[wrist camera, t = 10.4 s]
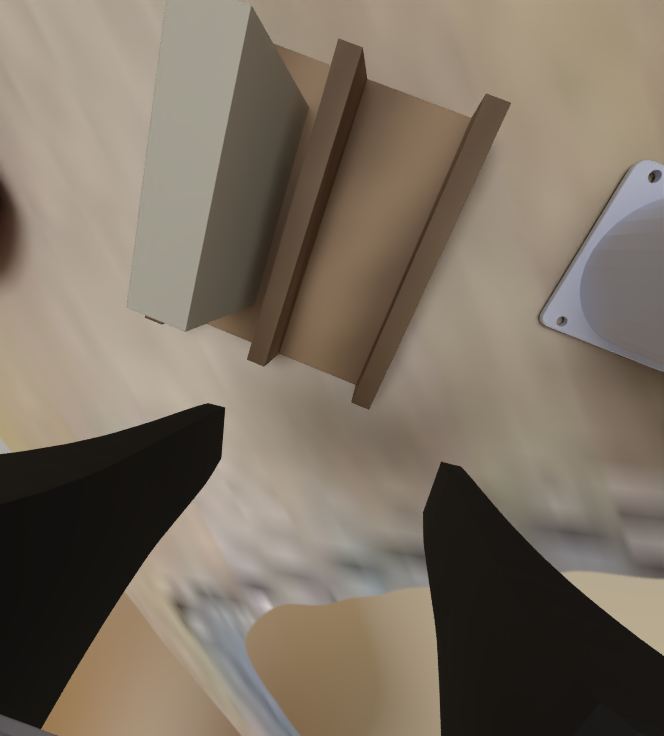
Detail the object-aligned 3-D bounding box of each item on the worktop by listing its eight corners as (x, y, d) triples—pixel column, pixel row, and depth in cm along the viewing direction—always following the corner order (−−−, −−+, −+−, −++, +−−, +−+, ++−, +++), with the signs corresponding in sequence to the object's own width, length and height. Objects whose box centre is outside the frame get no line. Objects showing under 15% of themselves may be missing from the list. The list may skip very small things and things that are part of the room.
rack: (486, 133, 16) (511, 102, 13) (372, 385, 21) (369, 409, 18) (234, 38, 16) (195, -15, 13) (182, 307, 21) (145, 317, 18)
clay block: (309, 106, 16) (250, 5, 9) (254, 304, 19) (185, 331, 13) (260, 88, 16) (169, -26, 9) (214, 288, 20) (126, 307, 13)
